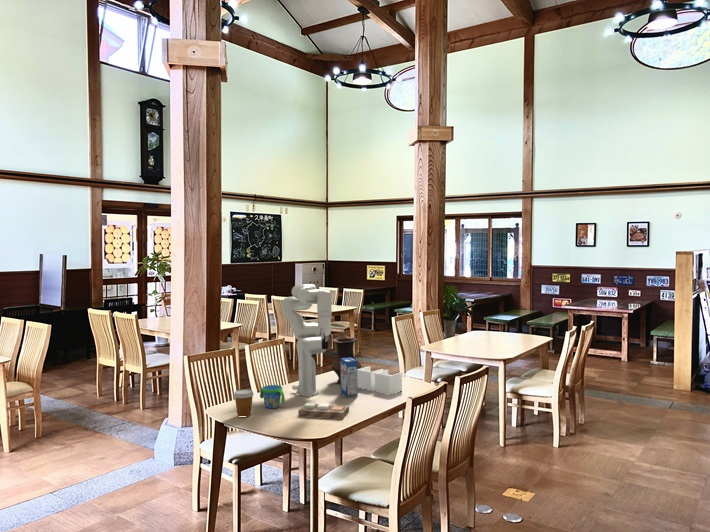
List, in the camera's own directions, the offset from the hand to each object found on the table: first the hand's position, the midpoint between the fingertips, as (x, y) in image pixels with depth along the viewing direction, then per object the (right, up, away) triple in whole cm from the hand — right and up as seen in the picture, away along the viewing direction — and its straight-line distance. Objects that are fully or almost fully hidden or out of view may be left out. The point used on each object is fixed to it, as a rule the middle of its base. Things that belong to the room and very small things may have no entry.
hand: (325, 348), depth 285 cm
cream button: (0, -28, -17) cm, 32 cm away
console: (0, -30, -17) cm, 34 cm away
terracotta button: (+7, -29, -18) cm, 35 cm away
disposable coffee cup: (-39, -30, -18) cm, 52 cm away
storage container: (+30, -28, +29) cm, 50 cm away
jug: (+10, -28, +48) cm, 56 cm away
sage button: (-6, -28, -15) cm, 32 cm away
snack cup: (-27, -30, -3) cm, 40 cm away
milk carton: (+12, -29, +18) cm, 36 cm away
